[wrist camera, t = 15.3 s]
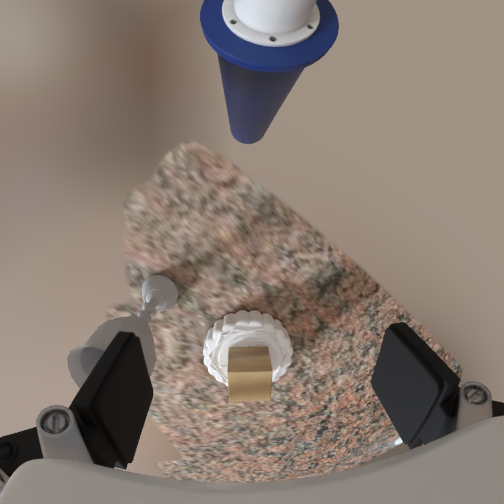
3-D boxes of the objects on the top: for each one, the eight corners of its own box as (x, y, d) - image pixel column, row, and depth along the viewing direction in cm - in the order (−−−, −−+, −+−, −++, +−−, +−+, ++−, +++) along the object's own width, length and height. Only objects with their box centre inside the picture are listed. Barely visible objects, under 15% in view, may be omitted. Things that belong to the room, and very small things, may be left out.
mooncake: (299, 314, 36) (304, 328, 32) (279, 380, 39) (282, 395, 35) (210, 302, 35) (207, 315, 31) (201, 371, 38) (199, 386, 34)
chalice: (125, 288, 34) (56, 367, 16) (156, 256, 33) (89, 329, 15) (163, 325, 35) (121, 422, 18) (196, 297, 34) (166, 395, 17)
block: (228, 347, 33) (227, 372, 28) (268, 346, 33) (272, 371, 28) (230, 376, 34) (229, 401, 29) (267, 375, 34) (270, 400, 29)
